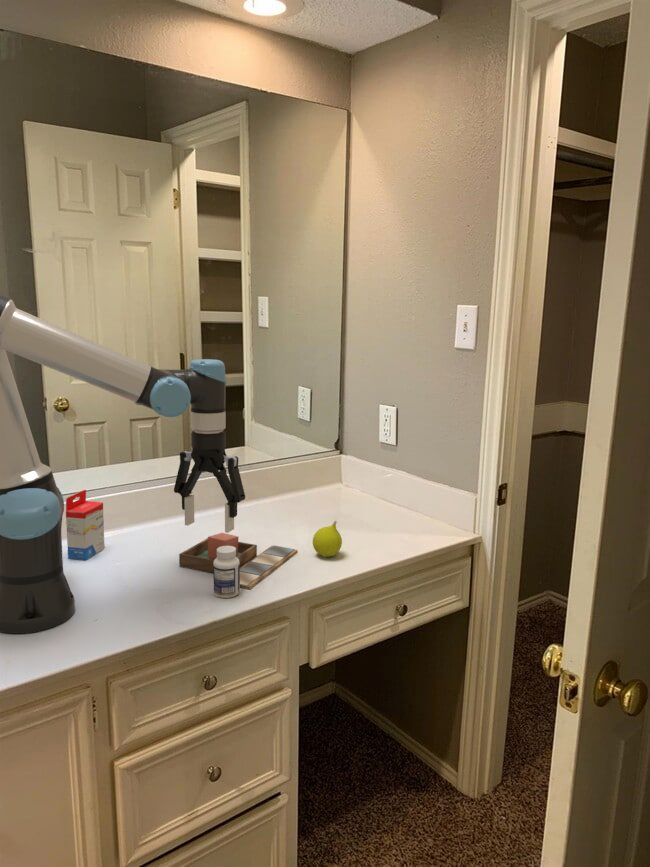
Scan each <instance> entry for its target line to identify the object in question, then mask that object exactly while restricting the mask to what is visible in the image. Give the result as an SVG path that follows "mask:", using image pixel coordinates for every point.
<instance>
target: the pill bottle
mask: <svg viewBox="0 0 650 867" xmlns="http://www.w3.org/2000/svg"><path fill="white" fill-rule="evenodd" d="M235 556H236V548H235V547H233V546H221V547H219V548H217V558H216V559H215V560H214V562H213V573H212V574H213V594H214V595H215V596H216V597H217V598H222V599H229V598H230V599H231V598H233V597H236V596H238V595H239V594H240V589H241V588H240V563H239V559H238V558H237V557H235Z"/></svg>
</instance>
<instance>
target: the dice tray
mask: <svg viewBox="0 0 650 867" xmlns="http://www.w3.org/2000/svg"><path fill="white" fill-rule="evenodd" d="M207 555H208V537H207V538H205V539H203V540H202V541H200V542H198V543H197V544H195V545H193V546H191V547H189V548H187V549H186V550H184V551H183V552H180V553H179V554H178V556H179V557H178V559H179V561H178V562H179V566H178V567H180V568H185V569H189V570H195V571H199V572H204V573H205V572H206V573H209V574H213V562H214V560H215V559H211V558H207ZM256 556H258V545H257V544H254V543H253V544H252V543H248V542H242V541H238V556H237V558H238V559H239V563H240V568H241V567H242V566H243V565H245V564H246V563H248V562H249V561H251V560H252V559H253V558H255V557H256Z"/></svg>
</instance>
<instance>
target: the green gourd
mask: <svg viewBox="0 0 650 867" xmlns="http://www.w3.org/2000/svg"><path fill="white" fill-rule="evenodd" d="M337 521H338V518H336V520H334V521H333V523H332V524H331V525H329V526H324V527H321V528H319V529H318V530H316V532H315V533H314V534H313V538H312V547H313V549H314V550H315V552H316V553H317V554H318V555H319V556H322V557H328V558H329V557H333V556H335V555H337V554H338V553H339V551H340V550H341V549H342V544H343V538H342V536H341V534H340V532H339V531H338V529H337Z"/></svg>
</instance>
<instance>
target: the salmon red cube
mask: <svg viewBox="0 0 650 867" xmlns="http://www.w3.org/2000/svg"><path fill="white" fill-rule="evenodd" d="M207 538H208V555H207V558H211V559H216V558H217V548H219V547H221V546H233V547H235V548H236V556H235V557H237V556H238V542H239V536H237V535H233V534H230V533H226V532H220V533H219V532H218V533H217V534H213V535H209V536H208V537H207Z"/></svg>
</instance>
